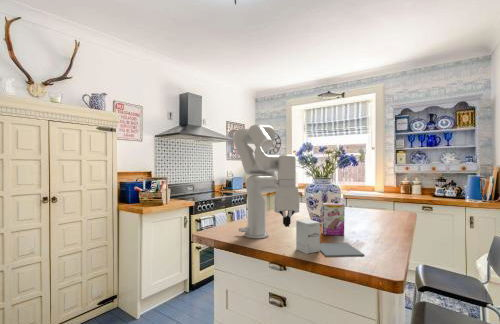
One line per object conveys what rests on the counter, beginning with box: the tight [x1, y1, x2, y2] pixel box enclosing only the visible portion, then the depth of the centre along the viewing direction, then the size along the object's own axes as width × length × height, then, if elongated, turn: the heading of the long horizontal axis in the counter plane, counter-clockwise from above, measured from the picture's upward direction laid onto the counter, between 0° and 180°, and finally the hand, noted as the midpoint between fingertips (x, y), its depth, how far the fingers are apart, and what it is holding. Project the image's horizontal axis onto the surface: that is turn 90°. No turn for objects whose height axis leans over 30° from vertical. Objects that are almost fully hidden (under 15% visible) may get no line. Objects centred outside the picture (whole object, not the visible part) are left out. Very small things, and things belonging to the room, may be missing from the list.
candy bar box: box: [321, 202, 346, 237], centre depth 138 cm, size 11×5×16 cm, turn 84°
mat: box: [319, 242, 365, 258], centre depth 112 cm, size 16×16×1 cm
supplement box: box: [295, 219, 321, 255], centre depth 111 cm, size 7×7×13 cm
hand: (286, 226), depth 111 cm, fingers closed
